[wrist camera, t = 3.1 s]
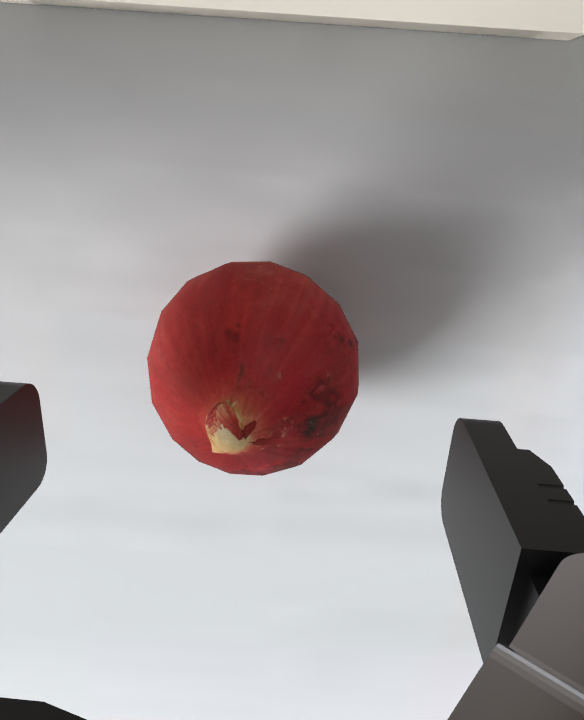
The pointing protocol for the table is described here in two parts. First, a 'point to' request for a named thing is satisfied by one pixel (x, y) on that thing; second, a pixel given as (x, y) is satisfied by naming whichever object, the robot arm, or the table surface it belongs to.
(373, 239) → the table surface
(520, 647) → the robot arm
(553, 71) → the table surface
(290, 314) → the onion
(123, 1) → the mat
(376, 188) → the table surface
